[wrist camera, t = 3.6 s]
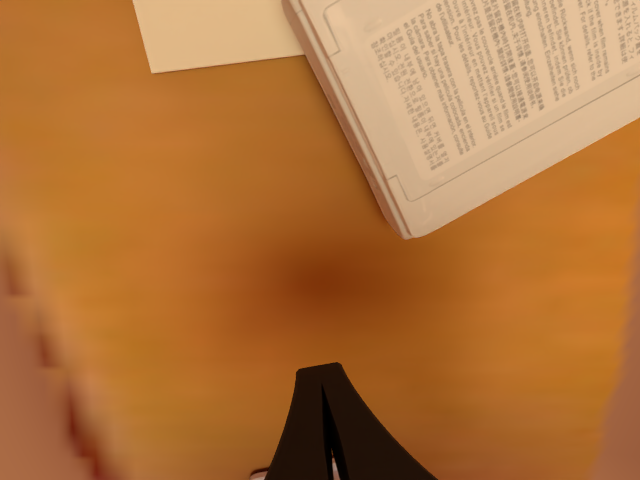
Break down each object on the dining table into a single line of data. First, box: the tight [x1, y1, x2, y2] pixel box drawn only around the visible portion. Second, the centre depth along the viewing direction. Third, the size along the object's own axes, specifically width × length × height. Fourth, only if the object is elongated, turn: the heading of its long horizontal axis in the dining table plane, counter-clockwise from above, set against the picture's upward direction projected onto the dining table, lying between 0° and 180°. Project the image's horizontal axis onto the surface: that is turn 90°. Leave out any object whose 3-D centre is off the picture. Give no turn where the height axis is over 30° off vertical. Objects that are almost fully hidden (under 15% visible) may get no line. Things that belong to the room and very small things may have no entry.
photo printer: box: [281, 0, 640, 240], centre depth 14 cm, size 10×4×12 cm
